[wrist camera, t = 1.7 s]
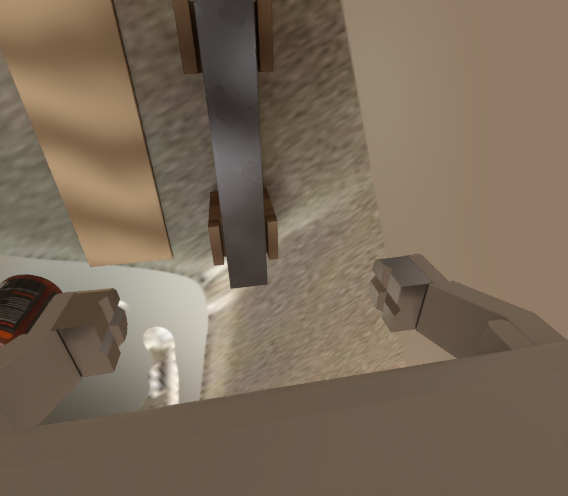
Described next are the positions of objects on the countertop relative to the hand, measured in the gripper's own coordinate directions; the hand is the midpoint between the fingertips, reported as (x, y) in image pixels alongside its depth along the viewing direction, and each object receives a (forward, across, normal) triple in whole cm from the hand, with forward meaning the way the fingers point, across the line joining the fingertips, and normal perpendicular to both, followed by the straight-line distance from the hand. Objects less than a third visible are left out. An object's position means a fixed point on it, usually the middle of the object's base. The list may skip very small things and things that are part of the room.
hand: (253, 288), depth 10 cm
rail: (+15, 0, 0) cm, 16 cm away
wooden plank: (+22, +11, 0) cm, 24 cm away
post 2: (+22, 0, +7) cm, 23 cm away
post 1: (+22, 0, -7) cm, 23 cm away
